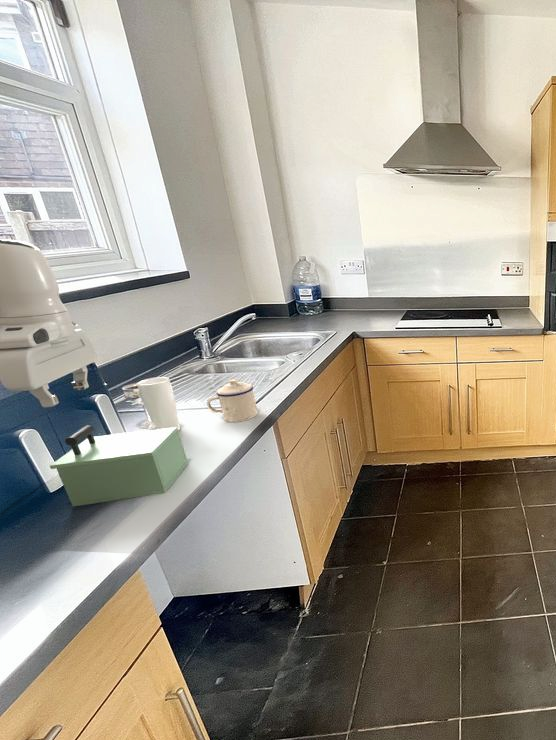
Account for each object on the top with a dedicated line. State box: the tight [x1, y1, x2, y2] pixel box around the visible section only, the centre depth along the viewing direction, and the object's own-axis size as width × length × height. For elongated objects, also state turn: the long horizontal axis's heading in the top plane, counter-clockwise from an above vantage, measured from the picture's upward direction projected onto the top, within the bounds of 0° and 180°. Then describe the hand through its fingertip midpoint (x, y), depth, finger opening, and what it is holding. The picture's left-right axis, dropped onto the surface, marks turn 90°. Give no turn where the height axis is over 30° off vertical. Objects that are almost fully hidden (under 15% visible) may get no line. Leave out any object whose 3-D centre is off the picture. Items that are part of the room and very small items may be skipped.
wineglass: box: [121, 382, 154, 429], centre depth 117 cm, size 7×7×12 cm
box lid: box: [49, 424, 179, 470], centre depth 87 cm, size 16×13×5 cm
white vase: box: [136, 376, 181, 431], centre depth 112 cm, size 7×7×15 cm
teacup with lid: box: [206, 378, 259, 423], centre depth 122 cm, size 12×9×12 cm
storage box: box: [56, 430, 189, 507], centre depth 90 cm, size 16×13×9 cm
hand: (67, 397), depth 83 cm, fingers open, 8 cm apart
